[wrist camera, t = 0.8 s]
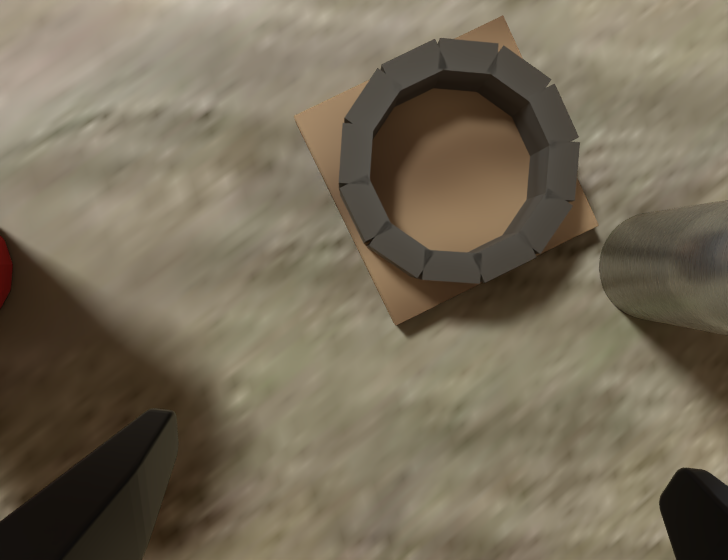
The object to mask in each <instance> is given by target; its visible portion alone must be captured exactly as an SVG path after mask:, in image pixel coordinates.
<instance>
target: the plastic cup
mask: <svg viewBox="0 0 728 560" xmlns="http://www.w3.org/2000/svg"><path fill="white" fill-rule="evenodd" d="M12 269H13V264H12V261H11V258H10V255H9V252H8V249H7V245H6V242H5V240H4V239H3V238H2V237H1V235H0V309H1V307H2V305H3V303H4V301H5V300H6V298H7V296H8V294H9V292H10V290H11V281H12Z"/></svg>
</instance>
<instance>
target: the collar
mask: <svg viewBox="0 0 728 560" xmlns="http://www.w3.org/2000/svg"><path fill="white" fill-rule="evenodd" d="M550 81H551V79H550V78H549V77H547V76H546V75H544V74H543V73H542V72H540V71H539V70H537V69H536V68H535V67H533V66H532V65H531V64H529V63H528V62H526V61H525V60H524V59H523V58H522V56H521V54H520V51H519V49H518V47H517V45H516V43H515V40H514V38H513V36H512V34H511V32H510V29H509V27H508V25H507V23H506V21H505V19H504V16H501V17H499V18H497V19H495V20H493V21H490V22H488V23H486V24H484V25H482V26H480V27H478V28H476V29H474V30H472V31H470V32H468V33H465V34H463V35H461V36H459V37H457V38H455V39H447V38H440V40H439V42H438V44H437V42H436V40H435V39H434V40H432V41H429V42H427V43H425V44H423V45H421V46H419V47H417V48H415V49H413V50H411V51H409V52H407V53H405V54H402V55H400V56H398V57H396V58H394V59H392V60H390V61H388V62H386V63H384V64H382V65H381V70H380V69H378V68H377V70H376V71H375V73H374V74H373V76H372V77H371V79H370V80H368V81H366V82H364V83H361V84H359V85H357V86H355V87H353V88H351V89H349V90H347V91H345V92H343V93H341V94H339V95H336V96H334V97H332V98H330V99H328V100H326V101H324V102H322V103H320V104H318V105H316V106H314V107H312V108H309V109H307V110H305V111H303V112H301V113H299V114H297V115H295V116H294V118H295V121H296V124H297V126H298V128H299V130H300V132H301V134H302V136H303V138H304V140H305V142H306V144H307V146H308V148H309V150H310V153H311V155H312V157H313V159H314V161H315V163H316V165H317V167H318V169H319V171H320V173H321V175H322V177H323V179H324V181H325V183H326V185H327V187H328V189H329V191H330V194H331V196H332V198H333V200H334V202H335V204H336V206H337V208H338V210H339V212H340V214H341V216H342V218H343V220H344V222H345V224H346V226H347V228H348V230H349V232H350V234H351V237H352V239H353V241H354V243H355V245H356V247H357V249H358V251H359V253H360V255H361V257H362V259H363V261H364V263H365V265H366V267H367V269H368V271H369V273H370V275H371V278H372V280H373V282H374V284H375V286H376V288H377V290H378V292H379V294H380V296H381V298H382V300H383V302H384V304H385V306H386V308H387V310H388V312H389V314H390V316H391V319H392V321H393V323H394V324H395V325H398V324H400V323H402V322H404V321H406V320H408V319H410V318H412V317H414V316H416V315H418V314H420V313H422V312H424V311H426V310H428V309H430V308H432V307H434V306H436V305H439V304H441V303H443V302H445V301H447V300H449V299H451V298H453V297H455V296H457V295H459V294H461V293H463V292H465V291H467V290H469V289H471V288H473V287H475V286H477V285H479V284H481V283H483V282H484V283H485V282H487V281H490V280H492V279H494V278H496V277H498V276H500V275H502V274H504V273H506V272H508V271H510V270H512V269H514V268H516V267H518V266H520V265H522V264H524V263H526V262H528V261H530V260H532V259H534V258H536V256H538V255H540V254H542V253H544V252H546V251H548V250H550V249H552V248H554V247H556V246H558V245H560V244H562V243H564V242H566V241H568V240H570V239H572V238H574V237H576V236H578V235H580V234H582V233H584V232H586V231H588V230H590V229H592V228H594V227H597V226H599V225H598V223H597V220H596V218H595V216H594V214H593V212H592V209H591V207H590V205H589V203H588V201H587V198H586V196H585V194H584V192H583V190H582V188H581V185H580V183H579V181H578V179H577V169H578V157H579V146H580V142H570V141H572V140H574V139H576V138H578V137H579V136H578V134H577V132H576V130H575V127H574V125H573V123H572V121H571V119H570V116H569V114H568V112H567V110H566V108H565V105H564V103H563V101H562V99H561V97H560V94H559V92H558V90H557V88H556V86H555V84H553V85H551V86H549V87H547V88H546V86H547V85H548V84H549V82H550Z"/></svg>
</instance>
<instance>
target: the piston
mask: <svg viewBox="0 0 728 560" xmlns="http://www.w3.org/2000/svg"><path fill="white" fill-rule="evenodd" d="M599 272H600V279H601V283H602V286H603V288H604V291H605V292H606V294H607V296H608V297H609V299H610V300H611V302H612V303H613V304H614V305H615V306H616V307H618V308H619V309H620V310H621V311H623V312H625V313H626V314H628V315H631V316H633V317H636V318H640V319H645V320H650V321H655V322H660V323H666V324H671V325H676V326H681V327H686V328H691V329H696V330H701V331H707V332H712V333H717V334H722V335H727V336H728V200H725V201H719V202H712V203H706V204H700V205H693V206H687V207H680V208H674V209H668V210H661V211H655V212H649V213H642V214H639V215H635V216H633V217H631V218H629V219H627V220H625V221H623V222H622V223H621V224H620V225H618V226H617V227H616V228H615V229H614V230H613V231H612V233H611V234H610V235H609V237H608V238H607V240H606V242H605V244H604V246H603V249H602V252H601V256H600V262H599Z"/></svg>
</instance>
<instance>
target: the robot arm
mask: <svg viewBox="0 0 728 560" xmlns="http://www.w3.org/2000/svg"><path fill="white" fill-rule="evenodd" d="M177 452H178V431H177V417H176V414H175V412H174V411H172V410H164V409H155V408H152V409H149V410H147V411H146V412H144V413H143V414H142V415H140V416H139V417H138V418H136V419H135V420H134V421H132V422H131V423H130V424H128V425H127V426H126V427H125V428H123V429H122V430H121V431H119V432H118V433H117V434H115V435H114V436H113V437H111V438H110V439H109V440H107V441H106V442H105V443H103V444H102V445H101V446H99V447H98V448H97V449H95V450H94V451H93V452H91V453H90V454H89V455H87V456H86V457H85V458H84V459H82V460H81V461H80V462H78V463H77V464H76V465H74V466H73V467H72V468H70V469H69V470H68V471H66V472H65V473H64V474H62V475H61V476H60V477H58V478H57V479H56V480H54V481H53V482H52V483H50V484H49V485H48V486H46V487H45V488H44V489H42V490H41V491H40V492H39V493H37V494H36V495H35V496H33V497H32V498H31V499H29V500H28V501H27V502H25V503H24V504H23V505H21V506H20V507H19V508H17V509H16V510H15V511H13V512H12V513H11V514H9V515H8V516H7V517H5V518H4V519H3V520H1V521H0V560H142V558H143V556H144V553H145V551H146V548H147V546H148V543H149V540H150V537H151V534H152V531H153V528H154V525H155V522H156V519H157V516H158V513H159V510H160V507H161V503H162V500H163V497H164V494H165V491H166V488H167V485H168V482H169V479H170V476H171V473H172V469H173V466H174V463H175V460H176V457H177ZM659 506H660V511H661V514H662V517H663V521H664V524H665V527H666V530H667V533H668V536H669V539H670V542H671V545H672V548H673V551H674V554H675V557H676V560H728V486H727V485H725V484H724V483H723V482H721V481H720V480H719V479H717V478H716V477H715V476H713V475H712V474H711V473H709V472H707V471H705V470H702V469H693V468H681V469H679V470H678V471H677V472H676V473H675V474H674V476H673V477H672V479H671V481H670V482H669V484H668V485H667V487H666V488H665V490H664V491H663V493H662V494H661V496H660V500H659Z"/></svg>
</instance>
